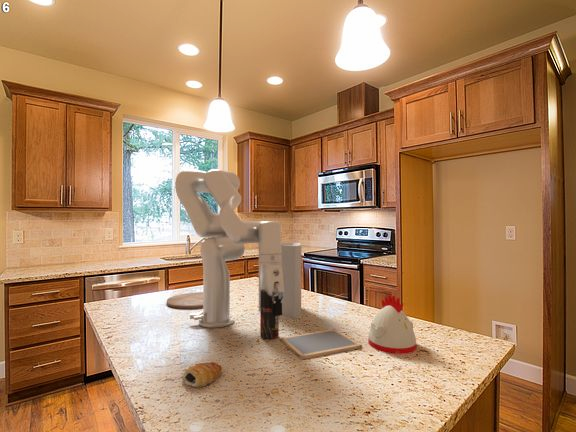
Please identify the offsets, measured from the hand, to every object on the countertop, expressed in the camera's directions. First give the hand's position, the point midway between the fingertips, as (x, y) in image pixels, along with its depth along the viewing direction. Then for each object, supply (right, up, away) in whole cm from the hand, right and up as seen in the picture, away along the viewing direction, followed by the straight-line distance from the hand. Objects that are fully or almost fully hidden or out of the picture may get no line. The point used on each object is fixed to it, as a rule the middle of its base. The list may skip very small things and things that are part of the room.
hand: (271, 311), depth 104 cm
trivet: (-38, -9, +44) cm, 59 cm away
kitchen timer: (+37, -9, -6) cm, 38 cm away
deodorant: (-1, -8, 0) cm, 8 cm away
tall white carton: (+5, -9, +30) cm, 32 cm away
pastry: (-15, -8, -27) cm, 32 cm away
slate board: (+15, -8, -6) cm, 18 cm away
